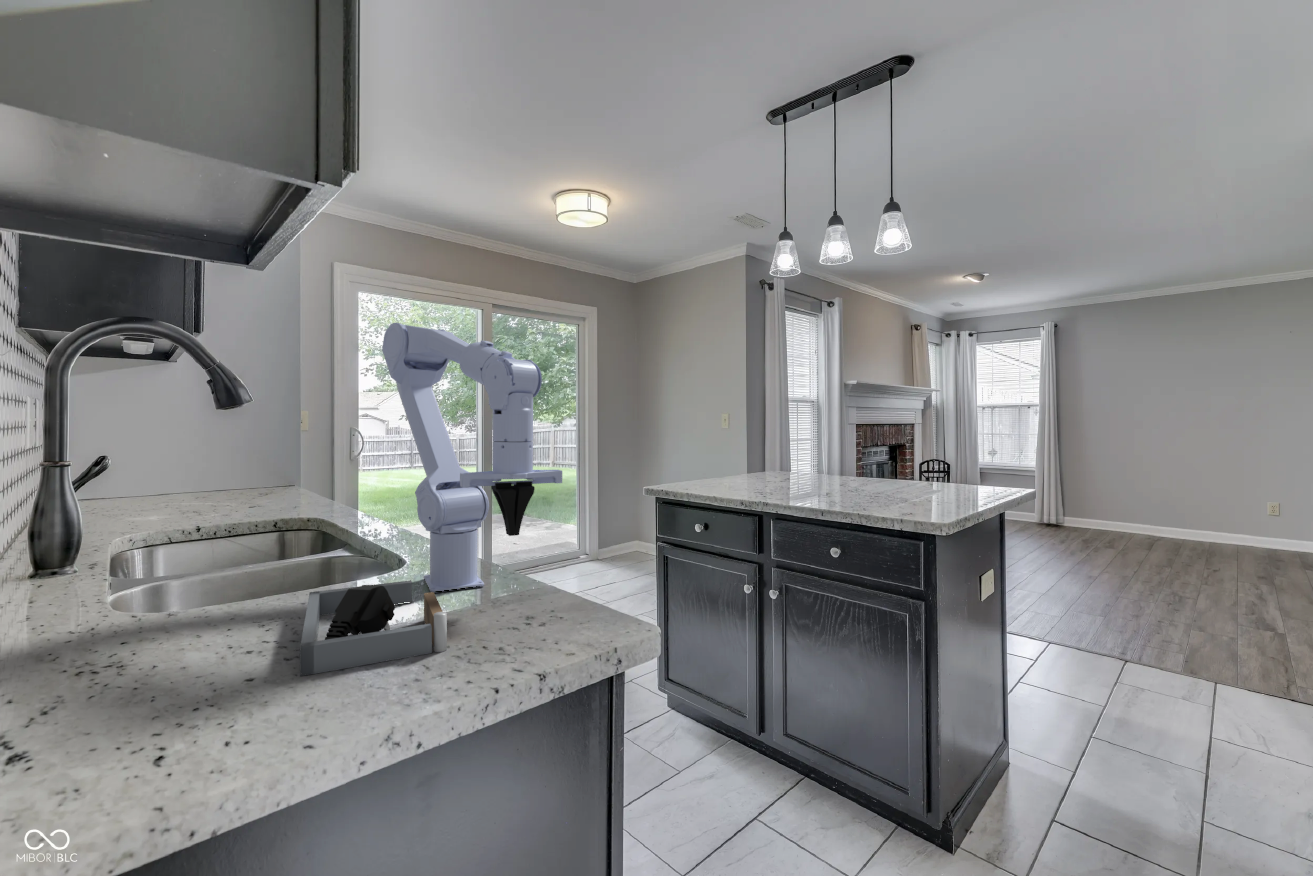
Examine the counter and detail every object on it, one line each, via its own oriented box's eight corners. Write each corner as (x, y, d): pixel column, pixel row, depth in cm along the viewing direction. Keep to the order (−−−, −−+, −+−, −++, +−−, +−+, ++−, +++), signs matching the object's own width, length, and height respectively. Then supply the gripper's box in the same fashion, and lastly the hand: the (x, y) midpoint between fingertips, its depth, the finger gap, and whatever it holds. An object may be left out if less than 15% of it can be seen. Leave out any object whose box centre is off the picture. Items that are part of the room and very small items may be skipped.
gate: (444, 645, 67) (444, 615, 67) (433, 647, 66) (433, 616, 66) (433, 618, 76) (433, 592, 76) (423, 620, 75) (423, 593, 75)
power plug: (289, 661, 60) (346, 572, 70) (317, 698, 65) (367, 609, 74) (340, 664, 60) (390, 573, 69) (364, 701, 64) (409, 611, 74)
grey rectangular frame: (309, 614, 77) (309, 583, 77) (423, 599, 84) (423, 570, 84) (300, 677, 58) (299, 636, 58) (447, 650, 65) (447, 614, 65)
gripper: (466, 443, 76) (466, 544, 76) (569, 442, 83) (569, 534, 83) (457, 441, 82) (457, 534, 82) (553, 440, 89) (553, 526, 89)
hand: (512, 534), depth 83 cm, fingers closed
